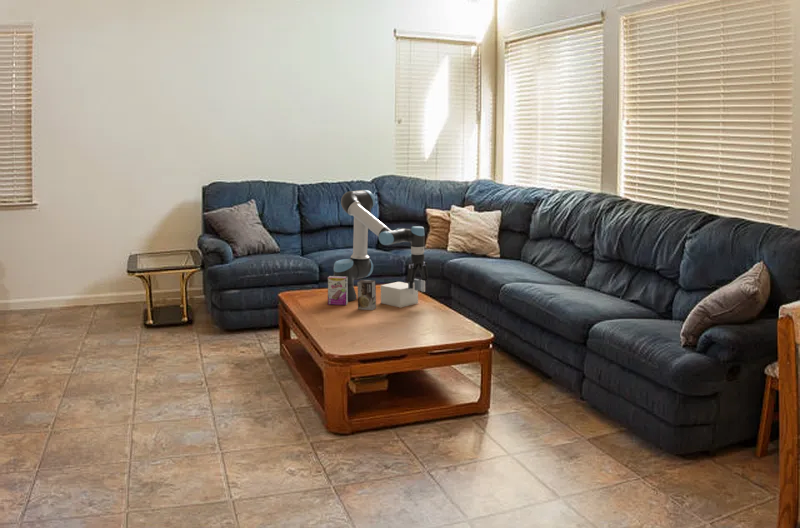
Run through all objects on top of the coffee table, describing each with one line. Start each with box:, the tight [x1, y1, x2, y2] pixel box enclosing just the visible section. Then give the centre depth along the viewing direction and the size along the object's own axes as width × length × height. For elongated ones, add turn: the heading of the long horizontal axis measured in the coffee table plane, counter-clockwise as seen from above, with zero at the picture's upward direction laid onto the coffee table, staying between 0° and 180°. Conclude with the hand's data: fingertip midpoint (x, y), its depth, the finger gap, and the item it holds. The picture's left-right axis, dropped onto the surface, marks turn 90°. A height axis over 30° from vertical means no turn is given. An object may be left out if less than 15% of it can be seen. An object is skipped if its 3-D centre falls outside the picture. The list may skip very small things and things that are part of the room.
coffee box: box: [356, 279, 377, 311], centre depth 442 cm, size 9×6×16 cm
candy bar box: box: [327, 275, 349, 306], centre depth 453 cm, size 11×5×16 cm, turn 84°
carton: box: [380, 286, 419, 308], centre depth 456 cm, size 16×15×10 cm
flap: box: [380, 278, 422, 292], centre depth 452 cm, size 24×15×6 cm, turn 46°
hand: (417, 292), depth 445 cm, fingers open, 8 cm apart
